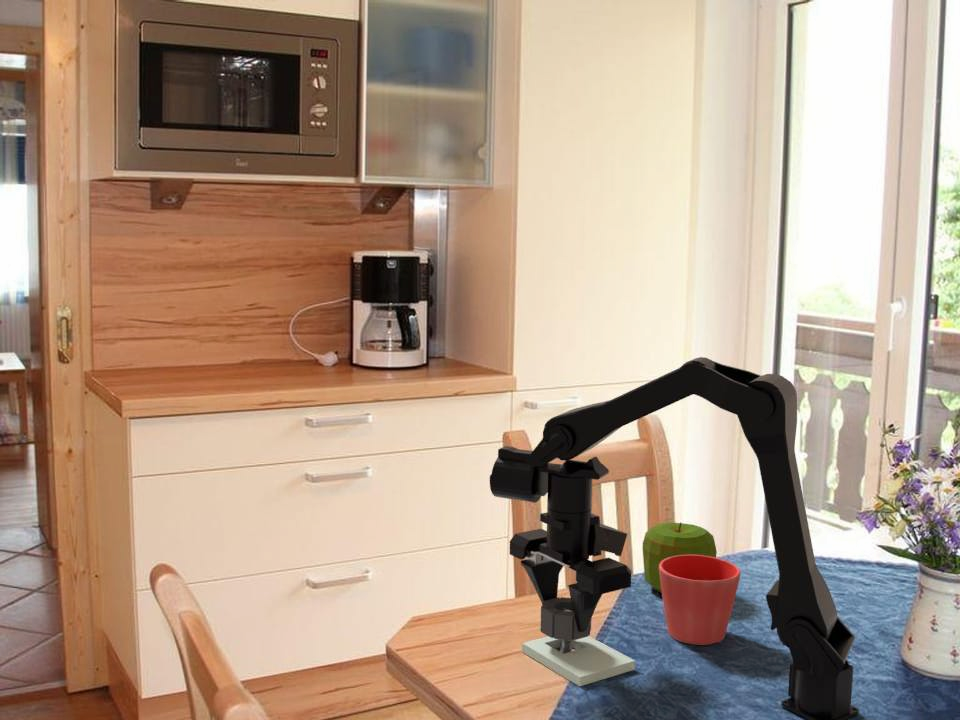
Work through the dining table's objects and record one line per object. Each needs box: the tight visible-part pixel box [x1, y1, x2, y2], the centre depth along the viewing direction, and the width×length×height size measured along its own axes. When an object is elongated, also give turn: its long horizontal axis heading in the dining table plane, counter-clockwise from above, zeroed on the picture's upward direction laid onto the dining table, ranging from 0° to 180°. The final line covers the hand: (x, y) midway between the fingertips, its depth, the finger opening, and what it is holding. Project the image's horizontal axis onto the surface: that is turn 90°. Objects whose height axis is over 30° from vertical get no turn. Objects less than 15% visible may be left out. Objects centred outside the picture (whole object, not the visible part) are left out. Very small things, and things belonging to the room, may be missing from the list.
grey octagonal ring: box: [540, 596, 592, 640], centre depth 139 cm, size 6×6×3 cm
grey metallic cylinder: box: [558, 608, 573, 654], centre depth 139 cm, size 2×2×6 cm
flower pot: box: [659, 555, 741, 646], centre depth 146 cm, size 11×11×10 cm
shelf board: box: [521, 635, 636, 687], centre depth 138 cm, size 12×9×1 cm
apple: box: [642, 521, 718, 594], centre depth 163 cm, size 11×11×11 cm
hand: (566, 622), depth 139 cm, fingers closed on grey octagonal ring, 6 cm apart
